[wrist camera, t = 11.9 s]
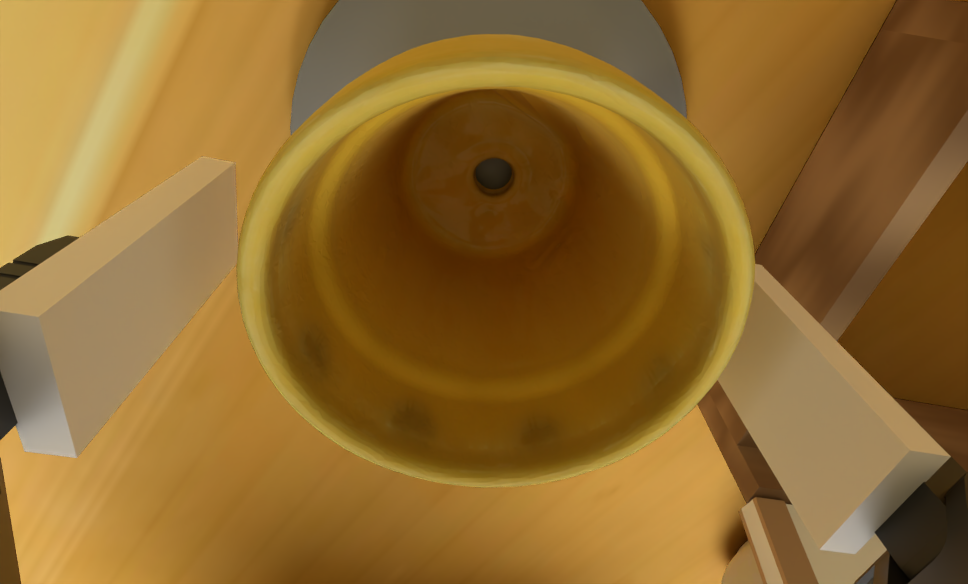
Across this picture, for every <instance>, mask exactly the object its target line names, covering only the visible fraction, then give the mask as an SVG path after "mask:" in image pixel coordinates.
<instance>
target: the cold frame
mask: <svg viewBox="0 0 968 584" xmlns="http://www.w3.org/2000/svg"><path fill="white" fill-rule="evenodd" d="M967 162H968V2H965V1H953V0H897V1H896V3H895V5H894V7H893V8H892V10H891V12H890V14H889V16H888V17H887V19H886V21H885V23H884V25H883V26H882V28H881V30H880V32H879V34H878V35H877V37H876V39H875V41H874V42H873V44H872V46H871V48H870V50H869V51H868V53H867V55H866V57H865V59H864V60H863V62H862V64H861V66H860V68H859V69H858V71H857V73H856V75H855V77H854V78H853V80H852V82H851V84H850V86H849V87H848V89H847V91H846V93H845V94H844V96H843V98H842V100H841V102H840V103H839V105H838V107H837V109H836V111H835V112H834V114H833V116H832V118H831V120H830V121H829V123H828V125H827V127H826V129H825V130H824V132H823V134H822V136H821V138H820V139H819V141H818V143H817V145H816V146H815V148H814V150H813V152H812V154H811V155H810V157H809V159H808V161H807V163H806V164H805V166H804V168H803V170H802V172H801V173H800V175H799V177H798V179H797V181H796V182H795V184H794V186H793V188H792V190H791V191H790V193H789V195H788V197H787V198H786V200H785V202H784V204H783V206H782V207H781V209H780V211H779V213H778V215H777V216H776V218H775V220H774V222H773V224H772V225H771V227H770V229H769V231H768V233H767V234H766V236H765V238H764V240H763V242H762V243H761V245H760V247H759V249H758V250H757V252H756V254H755V264H759V265H762V266H763V267H764V268H765V269H766V270H767V271H768V272H769V273H770V274H771V275H772V276H773V277H774V278H775V279H776V280H777V281H778V282H779V283H780V284H781V285H782V286H783V287H784V288H785V289H786V290H787V291H788V292H789V293H790V295H791V296H792V297H793V298H794V299H795V300H796V301H797V302H798V303H799V304H800V305H801V306H802V307H803V308H804V309H805V310H806V311H807V312H808V313H809V314H810V315H811V316H812V317H813V318H814V319H815V320H816V321H817V322H818V323H819V324H820V325H821V326H822V327H823V328H824V329H825V330H826V331H827V332H828V333H829V334H830V335H831V336H832V337H833V338H834V339H835V340H836V341H838V339H839V338H840V337H841V335H842V334H843V332H844V331H845V330H846V328H847V327H848V326H849V324H850V323H851V321H852V320H853V319H854V317H855V316H856V315H857V313H858V312H859V310H860V309H861V308H862V306H863V305H864V304H865V302H866V301H867V299H868V298H869V297H870V295H871V294H872V292H873V291H874V290H875V288H876V287H877V286H878V284H879V283H880V281H881V280H882V279H883V277H884V276H885V275H886V273H887V272H888V270H889V269H890V268H891V266H892V265H893V264H894V262H895V261H896V259H897V258H898V257H899V255H900V254H901V253H902V251H903V250H904V248H905V247H906V246H907V244H908V243H909V241H910V240H911V239H912V237H913V236H914V235H915V233H916V232H917V230H918V229H919V228H920V226H921V225H922V224H923V222H924V221H925V219H926V218H927V217H928V215H929V214H930V213H931V211H932V210H933V208H934V207H935V206H936V204H937V203H938V202H939V200H940V199H941V197H942V196H943V195H944V193H945V192H946V190H947V189H948V188H949V186H950V185H951V184H952V182H953V181H954V179H955V178H956V177H957V175H958V174H959V173H960V171H961V170H962V168H963V167H964V166H965V164H966V163H967ZM894 399H895V400H896V401H897V402H898V403H899V405H900V406H901V407H902V408H904V409H905V410H906V411H907V412H908V413H909V414H910V415H911V416H912V417H913V418H914V420H915V421H916V422H918V423H919V424H920V425H921V426H922V427H923V428H924V429H925V430H926V431H927V432H928V433H929V434H930V435H931V436H932V437H933V438H934V439H935V440H936V441H937V442H938V443H939V444H940V445H941V447H942V448H943V449H944V450H945V451H946V452H947V453H948V454H949V455H950V456H951V457H952V458H953V459H954V460H955V461H956V462H957V463H958V464H959V465H960V466H961V467H962V468H963V469H964V470H965V471H966V472H968V411H967V410H962V409H956V408H950V407H944V406H938V405H932V404H926V403H920V402H914V401H908V400H902V399H896V398H894ZM698 406H699V408H700V410H701V412H702V414H703V416H704V419H705V421H706V423H707V425H708V427H709V429H710V431H711V433H712V435H713V437H714V439H715V441H716V443H717V445H718V447H719V449H720V451H721V453H722V455H723V457H724V459H725V461H726V463H727V465H728V467H729V469H730V471H731V473H732V475H733V477H734V479H735V481H736V483H737V485H738V487H739V489H740V491H741V493H742V495H743V497H744V499H745V501H746V503H747V504H748V503H749V502H750V501H751V500H752V499H754V498H755V497H759V498H767V499H774V500H781V501H785V504H790V505H792V503H791V501H790V500H789V498H788V496H787V495H786V493H785V491H784V490H783V488H782V486H781V485H780V483H779V481H778V480H777V478H776V476H775V475H774V473H773V471H772V470H771V468H770V466H769V465H768V463H767V461H766V460H765V458H764V457H763V455H762V453H761V452H760V450H759V448H758V447H757V445H756V443H755V442H754V440H753V438H752V437H751V435H750V433H749V432H748V430H747V428H746V427H745V425H744V423H743V422H742V420H741V418H740V417H739V415H738V413H737V412H736V410H735V408H734V407H733V405H732V403H731V402H730V400H729V398H728V397H727V395H726V393H725V392H724V390H723V388H722V387H721V385H720V383H719V382H718V380H717V381H716V382H715V384H714V385H713V387H712V388H711V389H710V390H709V391H708V392H707V393H706V395H705V396H704V397H703V398H702V399H701V400H700V401H699V403H698Z"/></svg>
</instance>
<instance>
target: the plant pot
mask: <svg viewBox="0 0 968 584" xmlns="http://www.w3.org/2000/svg"><path fill="white" fill-rule="evenodd" d="M491 158H497V159H502V160H504V161H506V162H507V163H508V164H509V166H510V167H511V170H512V175H511V179H510V181H509V182H508V183H507V184H506V185H505V186H504V187H502V188H499V189H488V188H485V187H484V186H482V185H481V184H480V183H479V182H478V181H477V178H476V176H475V175H476V168H477V166H478V165H479V164H480V163H481V162H482V161H484V160H487V159H491ZM754 280H755V255H754V244H753V239H752V233H751V228H750V223H749V219H748V216H747V213H746V209H745V206H744V204H743V201H742V199H741V197H740V194H739V192H738V189H737V187H736V185H735V182H734V180H733V178H732V177H731V175H730V173H729V172H728V170H727V168H726V167H725V165H724V163H723V162H722V160H721V158H720V157H719V156H718V154H717V153H716V152H715V150H714V149H713V148H712V146H711V145H710V144H709V142H708V141H707V140H706V139H705V138H704V136H703V135H702V134H701V133H700V132H699V131H698V130H697V129H696V128H695V127H694V126H693V124H692V123H691V122H690V121H688V120H687V119H686V118H685V117H684V116H683V115H682V114H680V113H679V112H678V111H677V110H676V109H675V108H673V107H672V106H671V105H670V104H669V103H667V102H666V101H665V100H663V99H662V98H661V97H659V96H658V95H657V94H655V93H654V92H653V91H651V90H650V89H648V88H647V87H646V86H644V85H643V84H641V83H640V82H638V81H637V80H635V79H634V78H632V77H631V76H629V75H628V74H626V73H624V72H623V71H621V70H619V69H617V68H616V67H614V66H612V65H610V64H608V63H606V62H604V61H602V60H600V59H597V58H595V57H593V56H591V55H588V54H586V53H584V52H582V51H579V50H577V49H574V48H571V47H568V46H565V45H562V44H558V43H555V42H551V41H547V40H543V39H539V38H533V37H527V36H520V35H510V34H480V35H467V36H461V37H455V38H449V39H443V40H439V41H436V42H432V43H428V44H424V45H421V46H418V47H416V48H413V49H410V50H408V51H406V52H403V53H401V54H399V55H397V56H394V57H392V58H390V59H388V60H387V61H385V62H383V63H381V64H379V65H377V66H376V67H374V68H372V69H370V70H369V71H367V72H366V73H364V74H363V75H361V76H359V77H358V78H356V79H355V80H353V81H352V82H350V83H349V84H347V85H346V86H345V87H344V88H342V89H341V90H340V91H339V92H337V93H336V94H335V95H334V96H333V97H331V98H330V99H329V100H328V101H327V102H326V103H324V104H323V105H322V106H321V107H320V108H319V109H317V110H316V111H315V112H314V113H313V114H312V115H311V116H310V117H309V118H308V119H307V120H306V121H305V122H304V123H303V124H302V125H301V126H300V127H299V128H298V129H297V130H296V131H295V132H294V133H293V134H292V135H291V136H290V137H289V139H288V140H287V141H286V142H285V143H284V145H283V146H282V147H281V148H280V149H279V151H278V152H277V154H276V155H275V157H274V158H273V159H272V161H271V163H270V164H269V166H268V167H267V169H266V171H265V172H264V174H263V176H262V177H261V179H260V181H259V183H258V185H257V187H256V189H255V191H254V193H253V195H252V198H251V201H250V203H249V206H248V209H247V211H246V215H245V218H244V222H243V226H242V230H241V233H240V238H239V245H238V255H237V289H238V297H239V303H240V308H241V313H242V318H243V322H244V325H245V328H246V331H247V334H248V337H249V340H250V342H251V344H252V347H253V349H254V351H255V353H256V355H257V357H258V359H259V361H260V363H261V365H262V367H263V368H264V370H265V372H266V374H267V375H268V377H269V379H270V380H271V381H272V383H273V384H274V386H275V387H276V388H277V390H278V391H279V392H280V393H281V395H282V396H283V397H284V398H285V399H286V401H287V402H288V403H289V404H290V405H291V406H292V407H293V408H294V409H295V410H296V411H297V412H298V413H299V414H300V415H301V416H302V417H303V418H304V419H305V420H306V421H307V422H308V423H309V424H311V425H312V426H313V427H314V428H316V429H317V430H318V431H319V432H321V433H322V434H323V435H325V436H326V437H328V438H329V439H330V440H332V441H333V442H335V443H336V444H338V445H339V446H341V447H342V448H344V449H346V450H348V451H349V452H351V453H353V454H355V455H357V456H359V457H361V458H363V459H365V460H368V461H370V462H372V463H374V464H377V465H379V466H381V467H384V468H387V469H390V470H392V471H395V472H399V473H402V474H405V475H408V476H411V477H415V478H419V479H424V480H428V481H432V482H438V483H444V484H450V485H458V486H468V487H479V488H490V487H518V486H527V485H533V484H542V483H547V482H554V481H559V480H563V479H567V478H571V477H574V476H578V475H581V474H584V473H587V472H590V471H593V470H596V469H599V468H602V467H605V466H607V465H609V464H612V463H614V462H616V461H619V460H621V459H623V458H625V457H627V456H629V455H631V454H633V453H635V452H637V451H638V450H640V449H642V448H644V447H645V446H647V445H648V444H650V443H652V442H653V441H655V440H656V439H658V438H659V437H661V436H662V435H663V434H665V433H666V432H667V431H669V430H670V429H671V428H672V427H673V426H675V425H676V424H677V423H678V422H679V421H680V420H681V419H682V418H684V417H685V416H686V415H687V414H688V413H689V412H690V411H691V410H692V409H693V408H694V407H695V406H696V405H697V404H698V403H699V401H700V400H701V399H702V398H703V397H704V396H705V395H706V393H707V392H708V391H709V390H710V389H711V388H712V387H713V385H714V384H715V382H716V381H717V379H718V378H719V377H720V375H721V374H722V372H723V371H724V369H725V368H726V366H727V364H728V362H729V361H730V359H731V357H732V355H733V353H734V351H735V349H736V347H737V345H738V343H739V340H740V338H741V336H742V333H743V330H744V327H745V323H746V320H747V317H748V313H749V309H750V305H751V300H752V295H753V289H754Z"/></svg>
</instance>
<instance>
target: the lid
mask: <svg viewBox="0 0 968 584" xmlns="http://www.w3.org/2000/svg"><path fill="white" fill-rule="evenodd" d="M739 514H740V517H741V520H742V523H743V526H744V529H745V532H746V535H747V538H748V541H749V544H750V546H751V549H752V552H753V555H754V558H755V561H756V564H757V567H758V570H759V573H760V576H761V579H762V582H763V584H854V582H855V581H856V580H857V579H858V578H859V577H860V576H861V575H862V574H863V573H864V572H865V571H866V570H867V569H868V568H869V567H870V566H871V565H872V564H873V563H874V562H875V561H876V560H877V559H878V558H879V557H880V556H881V555H882V554H883V553H884V552H885V551H886V550H887V549H886V548H885V546H884V545H883V544H882V542H881V541H880V539H879V538H878V537H877V535H876V534H875V535H874V536H873V537H872V538H871V539H870V540H869V541H868V542H867V543H866V544H865V545H864V546H863V547H862V548H861V549H860V550H859V551H858V552H857V553H856V554H850V553H842V552H834V551H826V550H819V548H818V546H817V545H816V543H815V541H814V540H813V538H812V536H811V535H810V533H809V531H808V530H807V528H806V526H805V525H804V523H803V521H802V520H801V518H800V516H799V515H798V513H797V511H796V510H795V508H794V506H793V505H790V504H785V501H781V500H774V499H767V498H759V497H755V498H754V499H752V500H751V501H750V502H749V503H748V504H746V505H745V506H744V507H743V508H742V509H740V510H739Z"/></svg>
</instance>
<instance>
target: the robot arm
mask: <svg viewBox="0 0 968 584" xmlns="http://www.w3.org/2000/svg"><path fill="white" fill-rule="evenodd" d="M237 255H238V230H237V199H236V168H235V162H230V161H225V160H220V159H215V158H210V157H205V156H201V157H200V158H198V159H197V160H195V161H194V162H192V163H191V164H189V165H188V166H186V167H185V168H183V169H182V170H180V171H179V172H177V173H176V174H174V175H173V176H171V177H170V178H168V179H167V180H165V181H164V182H162V183H161V184H159V185H158V186H156V187H155V188H153V189H152V190H150V191H149V192H147V193H146V194H144V195H143V196H141V197H140V198H138V199H137V200H135V201H134V202H132V203H131V204H129V205H128V206H126V207H125V208H123V209H122V210H120V211H119V212H117V213H116V214H114V215H113V216H111V217H110V218H108V219H107V220H105V221H104V222H102V223H101V224H99V225H98V226H96V227H95V228H93V229H92V230H90V231H89V232H87V233H86V234H84V235H83V236H81V237H80V238H79V237H73V236H65V237H62V238H58V239H55V240H52V241H49V242H46V243H43V244H40V245H37V246H35V247H33V248H32V249H30V250H28V251H27V252H25V253H24V254H22V255H20V256H19V257H17V258H16V259H14V260H13V263H7V264H6V265H4V266H3V267H1V268H0V440H1V439H2V438H3V437H4V436H5V435H6V434H7V433H8V432H9V431H10V430H11V429H12V428H13V427H14V426H15V425H16V428H17V431H18V433H19V436H20V439H21V442H22V445H23V448H24V451H25V452H33V453H41V454H49V455H57V456H65V457H74V458H77V457H78V456H79V455H80V454H81V452H82V451H83V450H84V449H85V448H86V446H87V445H88V444H89V443H90V442H91V440H92V439H93V438H94V437H95V435H96V434H97V433H98V432H99V431H100V429H101V428H102V427H103V426H104V425H105V423H106V422H107V421H108V420H109V418H110V417H111V416H112V415H113V414H114V412H115V411H116V410H117V409H118V408H119V406H120V405H121V404H122V403H123V401H124V400H125V399H126V398H127V397H128V395H129V394H130V393H131V392H132V390H133V389H134V388H135V387H136V386H137V384H138V383H139V382H140V381H141V380H142V378H143V377H144V376H145V375H146V373H147V372H148V371H149V370H150V369H151V367H152V366H153V365H154V364H155V363H156V361H157V360H158V359H159V358H160V356H161V355H162V354H163V353H164V352H165V350H166V349H167V348H168V347H169V346H170V344H171V343H172V342H173V341H174V339H175V338H176V337H177V336H178V335H179V333H180V332H181V331H182V330H183V329H184V327H185V326H186V325H187V324H188V322H189V321H190V320H191V319H192V318H193V316H194V315H195V314H196V313H197V311H198V310H199V309H200V308H201V307H202V305H203V304H204V303H205V302H206V301H207V299H208V298H209V297H210V296H211V294H212V293H213V292H214V291H215V290H216V288H217V287H218V286H219V285H220V284H221V282H222V281H223V280H224V279H225V277H226V276H227V275H228V274H229V273H230V271H231V270H232V269H233V268H234V267H235V265H236V264H237ZM717 380H718V382H719V383H720V385H721V387H722V388H723V390H724V392H725V393H726V395H727V397H728V398H729V400H730V402H731V403H732V405H733V407H734V408H735V410H736V412H737V413H738V415H739V417H740V418H741V420H742V422H743V423H744V425H745V427H746V428H747V430H748V432H749V433H750V435H751V437H752V438H753V440H754V442H755V443H756V445H757V447H758V448H759V450H760V452H761V453H762V455H763V457H764V458H765V460H766V461H767V463H768V465H769V466H770V468H771V470H772V471H773V473H774V475H775V476H776V478H777V480H778V481H779V483H780V485H781V486H782V488H783V490H784V491H785V493H786V495H787V496H788V498H789V500H790V501H791V503H792V505H793V506H794V508H795V510H796V511H797V513H798V515H799V516H800V518H801V520H802V521H803V523H804V525H805V526H806V528H807V530H808V531H809V533H810V535H811V536H812V538H813V540H814V541H815V543H816V545H817V546H818V548H819V550H826V551H834V552H842V553H850V554H856V553H857V552H858V551H859V550H860V549H861V548H862V547H863V546H864V545H865V544H866V543H867V542H868V541H869V540H870V539H871V538H872V537H873V536H874V535H875V534H876V535H877V537H878V538H879V539H880V541H881V542H882V544H883V545H884V546H885V548H886V549H887V550H886V551H885V552H884V553H883V554H882V555H881V556H880V557H879V558H878V559H877V560H876V561H875V562H874V563H873V564H872V565H871V566H870V567H869V568H868V569H867V570H866V571H865V572H864V573H863V574H862V575H861V576H860V577H859V578H858V579H857V580H856V581H855V582H854V584H968V472H966V471H965V470H964V469H963V468H962V467H961V466H960V465H959V464H958V463H957V462H956V461H955V460H954V459H953V458H952V457H951V456H950V455H949V454H948V453H947V452H946V451H945V450H944V449H943V448H942V447H941V445H940V444H939V443H938V442H937V441H936V440H935V439H934V438H933V437H932V436H931V435H930V434H929V433H928V432H927V431H926V430H925V429H924V428H923V427H922V426H921V425H920V424H919V423H918V422H916V421H915V420H914V418H913V417H912V416H911V415H910V414H909V413H908V412H907V411H906V410H905V409H904V408H902V407H901V406H900V405H899V403H898V402H897V401H896V400H895V399H894V398H893V397H892V396H891V395H890V394H889V393H888V392H887V391H886V390H885V389H884V388H883V387H882V386H881V385H879V383H878V382H877V381H876V380H875V379H874V378H873V377H872V376H871V375H870V374H869V373H868V372H867V371H866V370H865V369H864V368H863V367H862V366H861V365H860V364H859V363H858V362H857V361H856V360H855V359H854V358H853V357H852V356H851V355H850V354H849V353H848V352H847V351H846V350H845V349H844V348H843V347H842V346H841V345H840V344H839V343H838V342H837V341H836V340H835V339H834V338H833V337H832V336H831V335H830V334H829V333H828V332H827V331H826V330H825V329H824V328H823V327H822V326H821V325H820V324H819V323H818V322H817V321H816V320H815V319H814V318H813V317H812V316H811V315H810V314H809V313H808V312H807V311H806V310H805V309H804V308H803V307H802V306H801V305H800V304H799V303H798V302H797V301H796V300H795V299H794V298H793V297H792V296H791V295H790V293H789V292H788V291H787V290H786V289H785V288H784V287H783V286H782V285H781V284H780V283H779V282H778V281H777V280H776V279H775V278H774V277H773V276H772V275H771V274H770V273H769V272H768V271H767V270H766V269H765V268H764V267H763V266H762V265H759V264H755V280H754V289H753V295H752V300H751V305H750V309H749V313H748V317H747V320H746V323H745V327H744V330H743V333H742V336H741V338H740V340H739V343H738V345H737V347H736V349H735V351H734V353H733V355H732V357H731V359H730V361H729V362H728V364H727V366H726V368H725V369H724V371H723V372H722V374H721V375H720V377H719V378H718V379H717ZM0 584H21V580H20V574H19V567H18V561H17V555H16V549H15V543H14V537H13V531H12V525H11V518H10V512H9V506H8V500H7V494H6V488H5V482H4V476H3V469H2V463H1V458H0Z"/></svg>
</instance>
